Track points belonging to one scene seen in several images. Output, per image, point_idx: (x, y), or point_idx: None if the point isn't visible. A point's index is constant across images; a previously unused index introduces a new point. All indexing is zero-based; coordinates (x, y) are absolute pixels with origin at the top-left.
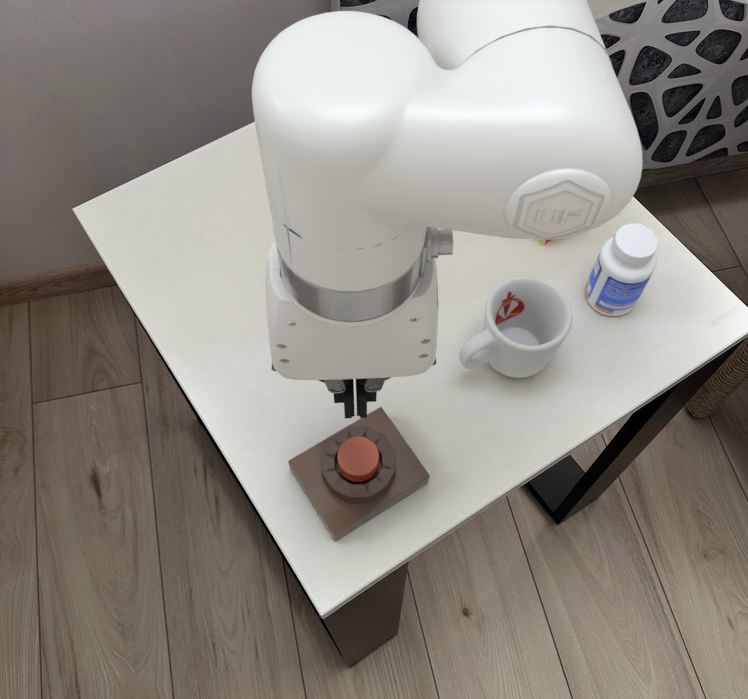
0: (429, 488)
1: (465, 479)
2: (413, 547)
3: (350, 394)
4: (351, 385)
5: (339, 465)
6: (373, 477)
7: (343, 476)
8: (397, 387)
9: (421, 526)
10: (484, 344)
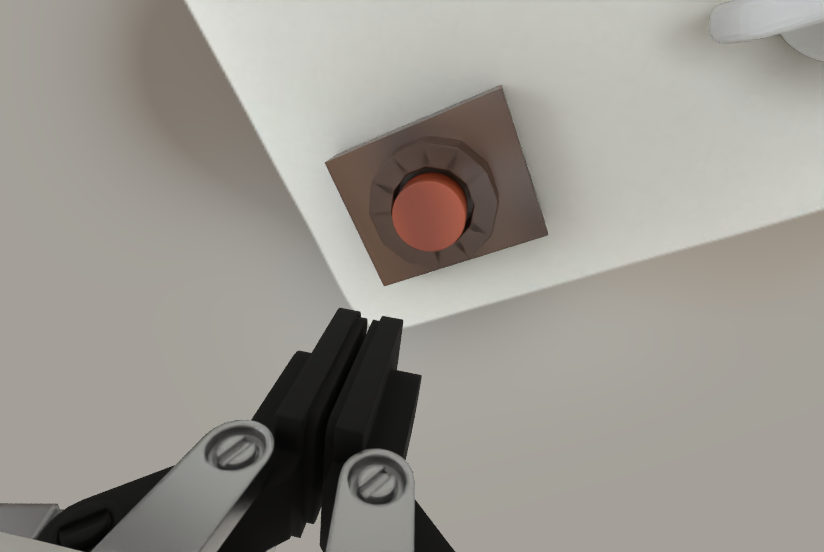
0: None
1: (606, 227)
2: (494, 300)
3: (298, 533)
4: (306, 503)
5: (394, 225)
6: None
7: None
8: (549, 25)
9: (514, 278)
10: (804, 23)
